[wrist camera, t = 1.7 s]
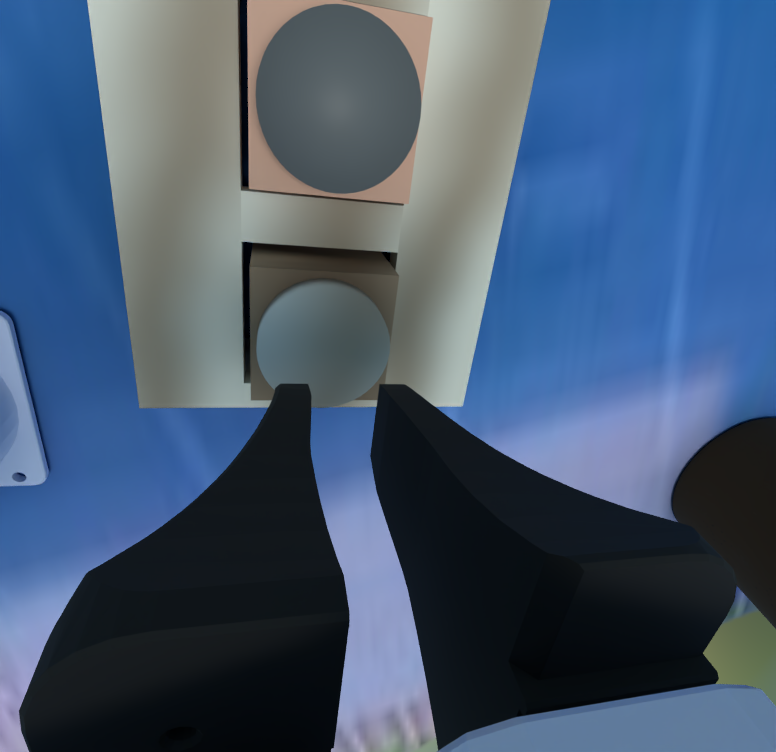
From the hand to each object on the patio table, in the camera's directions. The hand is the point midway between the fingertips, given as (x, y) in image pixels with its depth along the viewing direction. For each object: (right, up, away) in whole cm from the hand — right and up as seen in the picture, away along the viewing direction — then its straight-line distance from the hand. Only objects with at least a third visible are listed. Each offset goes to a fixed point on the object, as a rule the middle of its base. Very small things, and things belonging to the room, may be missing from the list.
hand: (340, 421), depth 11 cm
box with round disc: (-2, +4, +7) cm, 8 cm away
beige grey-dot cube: (-1, +9, +4) cm, 10 cm away
